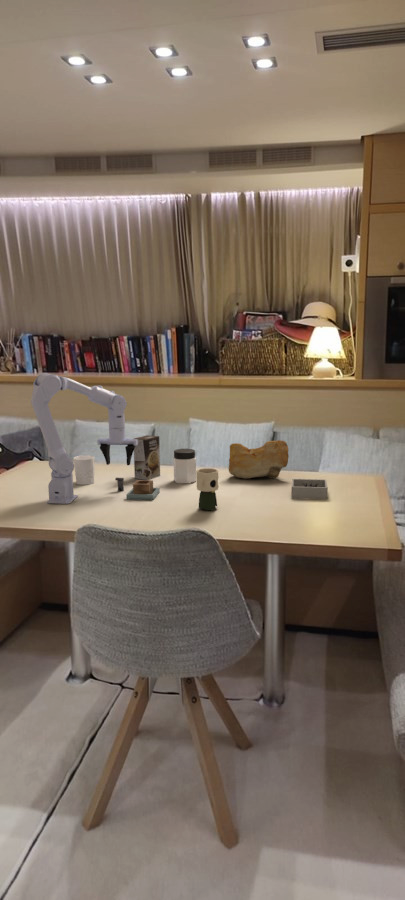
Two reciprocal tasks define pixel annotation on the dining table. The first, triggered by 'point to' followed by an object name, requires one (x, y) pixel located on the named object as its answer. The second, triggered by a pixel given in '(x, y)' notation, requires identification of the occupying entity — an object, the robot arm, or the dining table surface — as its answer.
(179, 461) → the jar
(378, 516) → the dining table surface
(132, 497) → the tray
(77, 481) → the white cup
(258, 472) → the rough brown rock
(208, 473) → the character mug
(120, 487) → the dark grey rounded piece
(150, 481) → the collar
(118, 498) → the dining table surface
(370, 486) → the dining table surface
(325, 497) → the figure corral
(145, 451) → the coffee box
